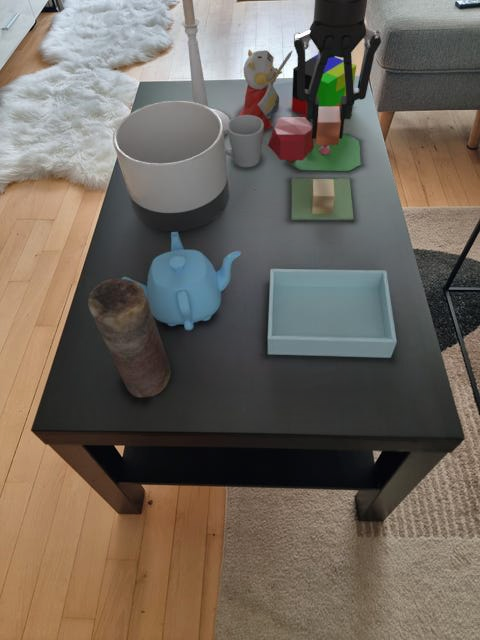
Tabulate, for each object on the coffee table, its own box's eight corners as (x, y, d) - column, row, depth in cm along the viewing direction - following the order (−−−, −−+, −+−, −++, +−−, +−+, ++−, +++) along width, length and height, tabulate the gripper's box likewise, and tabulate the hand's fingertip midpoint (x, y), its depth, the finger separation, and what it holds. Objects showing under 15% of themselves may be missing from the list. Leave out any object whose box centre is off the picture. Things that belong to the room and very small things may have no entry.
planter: (151, 175, 105) (132, 97, 90) (238, 182, 102) (232, 103, 87) (123, 237, 94) (96, 160, 79) (219, 247, 91) (209, 169, 76)
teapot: (187, 260, 89) (177, 214, 80) (245, 295, 84) (241, 249, 75) (127, 313, 83) (109, 270, 74) (185, 354, 77) (173, 313, 68)
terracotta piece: (336, 128, 89) (339, 106, 85) (338, 145, 86) (341, 122, 83) (314, 129, 89) (316, 106, 86) (315, 145, 87) (317, 122, 83)
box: (381, 287, 83) (386, 270, 79) (390, 357, 75) (396, 342, 71) (270, 285, 85) (270, 268, 81) (267, 354, 76) (267, 338, 73)
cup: (264, 170, 103) (263, 135, 97) (218, 171, 104) (214, 136, 97) (264, 149, 108) (264, 114, 101) (220, 150, 109) (217, 115, 102)
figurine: (281, 134, 111) (283, 68, 99) (233, 130, 113) (229, 65, 101) (290, 103, 118) (292, 38, 106) (245, 100, 120) (242, 36, 108)
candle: (139, 351, 78) (104, 269, 62) (180, 363, 76) (155, 282, 60) (117, 391, 74) (73, 315, 58) (160, 405, 72) (127, 330, 56)
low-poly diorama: (270, 135, 111) (270, 97, 104) (358, 135, 109) (364, 98, 102) (266, 176, 102) (265, 138, 95) (361, 178, 100) (368, 140, 93)
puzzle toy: (318, 93, 120) (321, 51, 112) (350, 107, 116) (356, 65, 108) (291, 110, 116) (293, 68, 108) (323, 125, 112) (327, 83, 104)
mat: (349, 180, 100) (349, 178, 100) (353, 220, 93) (353, 218, 93) (291, 180, 101) (291, 178, 101) (291, 219, 94) (291, 217, 94)
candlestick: (226, 108, 118) (215, -35, 94) (233, 138, 111) (222, -9, 87) (175, 115, 118) (150, -28, 94) (178, 145, 110) (152, -1, 86)
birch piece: (331, 197, 97) (333, 179, 93) (332, 214, 94) (334, 196, 90) (311, 197, 97) (312, 179, 93) (311, 214, 94) (313, 196, 90)
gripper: (399, -25, 70) (372, 121, 89) (282, -22, 71) (280, 122, 90) (406, -3, 66) (376, 146, 85) (282, 0, 67) (279, 147, 86)
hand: (326, 134), depth 87 cm, fingers closed on terracotta piece, 4 cm apart
